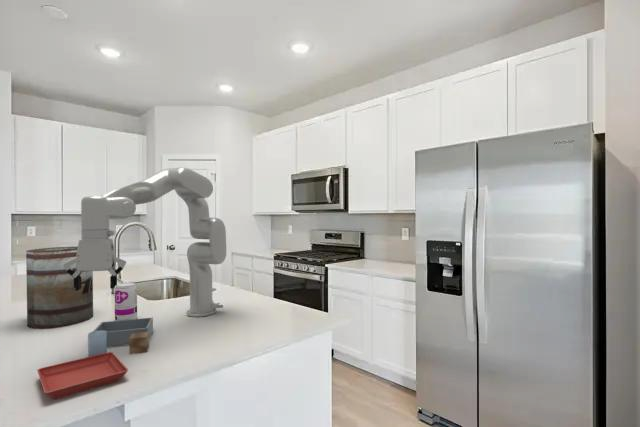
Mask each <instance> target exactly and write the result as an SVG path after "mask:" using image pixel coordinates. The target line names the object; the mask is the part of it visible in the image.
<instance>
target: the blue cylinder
mask: <svg viewBox="0 0 640 427" xmlns="http://www.w3.org/2000/svg"><path fill="white" fill-rule="evenodd" d="M93 331H94V330H93ZM93 331H91V332H89V333H88V334H87V354H88V356H87V357H91V356H95V355H99V354H104V353H108V351H107V350H108V347H107V331H105V330H99V331H94V332H93Z"/></svg>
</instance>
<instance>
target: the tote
mask: <svg viewBox="0 0 640 427" xmlns="http://www.w3.org/2000/svg"><path fill="white" fill-rule="evenodd" d="M99 330H105V331H107V348H111V347H118V346H119V347H121V346H129V338H130V337H131V335H132V334H133V333H142V332H149V340H150V339H151V336H152V334H153V331H154V317H143V318H136V319H130V320H120V321H115V320H112V321H111V320H110V321H109V320H108V321H101V322H100V323H99V324H98V325H97V326H96V327H95V328H94V330H93V331H92V332H94V331H99Z"/></svg>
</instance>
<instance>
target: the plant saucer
mask: <svg viewBox="0 0 640 427" xmlns="http://www.w3.org/2000/svg"><path fill="white" fill-rule="evenodd" d="M115 354H116V353H114V352H112V351H109V352H108V351H107V353H104V354H99V355H95V356H91V357H88V356H87V357H83V358H79V359H73V360H71V361H65V362H63V363H62V362H61V363H58V364H53V365H49V366H44V367H40V368H38V369H36V370H37V375H38V377H39V380H40V383H41V385H42V386H41V387H42V389H43V391H44V393H45V395H46V396H47V397H49V398H51V399H52V400H57V399H61V398H64V397H67V396H72V395H74V394H78V393H81V392H85V391H88V390H91V389H95V388H99V387H102V386H105V385H109V384H113V383H116V382H119V381H121V379H122V378H123V377H124V376H125V375H126V374H127V373H128V371H129V369H128V368H127V366H126V365H125V364H124V363H123V362H122V361H121V360H120V359H119V358H118V356H117V355H115Z"/></svg>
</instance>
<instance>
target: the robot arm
mask: <svg viewBox="0 0 640 427" xmlns="http://www.w3.org/2000/svg"><path fill="white" fill-rule="evenodd" d="M172 191H175V193H176V195H177V196H179V197H180V199H182V200H183V201H184V202H185V204H186V206H187V210H188V221H189V222H188V224H189V233H190V236H191V238H193V239H197V240H209V242H208V241H196V242H193V243H191V244H190V245H189V246H188V248H187V250H186V257H187V260H188V266H189V309H188V310H186V312H185V313H186V316H188V317H193V318H194V317H195V318H198V317H199V318H200V317H206V316H212V315H214V314H215V313H216V312H217V309H219V308H220V309H221V308H222V309H223V308H224V303H223V302H221V303H220V302H217V303H215V302H214V300H213V271H212V268H211V265H221V264H222V263H224V262H225V260H226V257H227V231H226V225H225V223H224V221H223V220H222V219H220V218H217V217H210V211H209V210H210V209H209V204H208V202H207V200H206V198H209V197H210V196H211V195H212V194H213V192H214V186H213V183H212V181H211V180H210V179H209V178H207V177H206V176H204V175H202V174H200V173H199V172H196V171H194V170H192V169H190V168H187V167H184V166H183V167H171V168H170V167H169V168H164V169H163V170H160V171H158V172H156V173H155V174H152V175H150V176H149V177H146V178H144V179H142V180H140V181H137V182H134V183H131V184H129V185H126V186H123V187H120V188H117V189H114V190H112V191H110V192H108V193H106V194H104V195H102V196H99V195H98V196H93V195H92V196H85V197H82V199H81V204H80V206H81V207H80V210H81V214H80V215H81V219H80V220H81V223H80V224H81V225H80V226H81V229H80V230H81V231H80V232H81V236H80V237H81V238H80V239H78V243H77V246H78V248H77V255H76V258H75V259H73V260H71V261H69V262H67V263H65V264H64V265H63V266H64V267H65V269H66V270H67V273H69V274H70V275H71V276H72V277H73V278H74V288H75V290H76V291H78V290H80V289H81V288H82V286H81V276H80V274H81V273H82V272H86V271H93V272H104V271H105V272H106V271H108V273H109V274H110V275H111V276H110V277H109V278H110V279H109V282H110V284H109V285H110V289H112V290H113V289H115V287H116V285H117V284H118V275H119V273H121V272H122V271H123V270H124V268H125V266H126V264H127V261H126V260H124V259H122V258H119V257H117V256H116V253H115V246H114V241H113V239H112V238H111V236H114V235H115V231H113V230H111V229H110V220H127V219H129V218H130V217H132V216H134V215H135V213H136V211H137V206H136V205H142V204H148V203H151V202H154V201H156V200H158V199H161V197H163V196H165V195H167V194H169V193H170V192H172ZM74 263H76V269H77V271H74V270H73V269H72V267H71V265H72V264H74ZM116 263H118V264H119V266H118V268H115V267H116Z"/></svg>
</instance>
